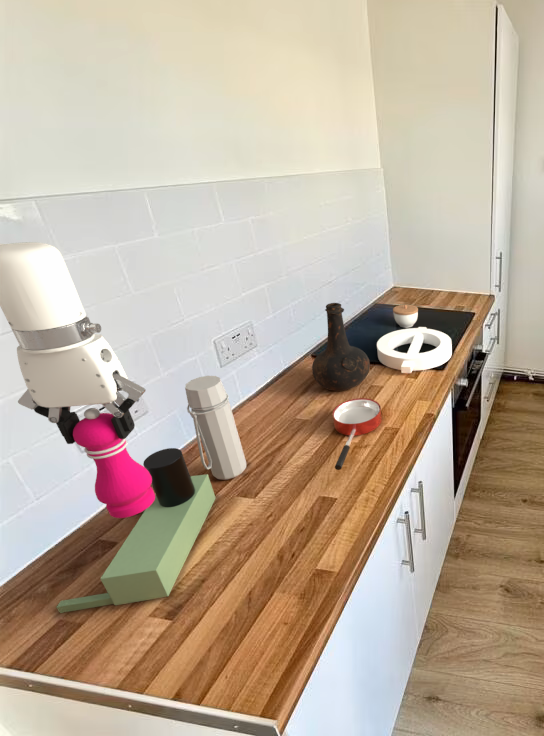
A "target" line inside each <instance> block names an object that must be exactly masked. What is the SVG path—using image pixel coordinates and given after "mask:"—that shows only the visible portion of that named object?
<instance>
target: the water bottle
mask: <svg viewBox="0 0 544 736" xmlns="http://www.w3.org/2000/svg"><path fill="white" fill-rule="evenodd" d="M184 389H185V394H186V400H187V407H186V410H187V413H188V414H189V415H190V417H191V418H192V421H193V426H194V431H195V434H196V435H195V436H196V441H197V446H198V452H199V458H200V462H201V464H202V466H203V468H204V469H205V470H210V471H211V474H212V476H213V477H214V478H216V479H217V480H224V481H225V480H231V479H235V478H237V477H238V476H240V475H242V473H243V472H244V471H245V470H246V469H247V461H246V457H245V453H244V450H243V449H244V448H243V446H242V443H241V439H240V435H239V431H238V428H237V425H236V421H235V417H234V414H233V410H232V406H231V403H230V400H229V397H230V395H229V394H228V393H227V391H226V389H225V386H224V384H223V382H222V379H221V378H220V377H219V376H217V375H205V376H199V377H196V378H194V379H191V380H190V381H188V382H187V383H185V387H184ZM190 409H191V410H190ZM202 446H203V447H202ZM203 450H204V453H205V456H206V459H207V462H208V465H207V464H206V462H205V458H204V453H203Z"/></svg>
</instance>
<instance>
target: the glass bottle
mask: <svg viewBox="0 0 544 736" xmlns="http://www.w3.org/2000/svg"><path fill="white" fill-rule="evenodd" d="M324 311H325V312H326V320H327V341H326V342H327V343H326V347H325V349H324V350H322V351H321V352H319V353H318V354H317V355H316V357H315V358H314V360H313V362H312V365H311V373H312V376H313V378H314V379H315V381H316V383H317V384H319V385H320V387H322V388H324V389H327V390H330V391H335V392H337V391H338V392H340V391H341V392H342V391H348V390H351V389H353V388H355V387H357V386H359V385H360V384H361V383H363V382H364V380H365V379H366V378H367V376H368V374H369V372H370V367H371V364H370V362H371V361H370V359H369V357H368V355H367V354H366V352H364V350H362V349H361V348H359V347H357V346H353V345H351V344H350V343H349V341H348V337H347V333H346V328H345V322H344V318H343V313H344V311H345V308H343V307H342V304H341V303H340V302H330V303H327V304H326V305H325V309H324Z"/></svg>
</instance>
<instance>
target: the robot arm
mask: <svg viewBox="0 0 544 736" xmlns="http://www.w3.org/2000/svg"><path fill="white" fill-rule="evenodd" d="M78 293H79V292H78V290H77V289H76V286H75V284H74V281H73V279H72V276H71V273H70V271H69V269H68V266H67V264H66V261H65V259H64V257H63V254H62V253H61V251H60V250H59V249H58V248H57V247H55V246H54V245H52V244H49V243H45V242H38V241H37V242H36V241H32V242H31V241H29V242H11V243H0V309H1V311H2V312H3V315H4V317H5V318H6V321H7V322H8V325H9V326H10V327H9V328H10V329H11V331H12V333H13V335H14V337H15V339H16V341H17V343H18V346H17V347H16V354H17V355H16V356H17V360H18V365H19V368H20V372H21V375H22V378H23V380H24V383H25V386H26V388H27V389H26V390H25V391H24V393H22V395H21V396H20V398H19V399H18V400H17V403H18V404H19V405H21V406H22V407H25V408H27V409H30V410H33V411H34V412H35V413H36V414H38V415H40V416H43V417H45V418H47V420H48V422H49V423H52V424H55V425H56V427H57V428H58V431H59V432H60V435H61V436H62V437H63V439H64V440H65V443H66V444H67V445H73V444H74V443H76V442H75V440H74V437H73V429H74V427H75V426H76V424H77V423H78V422H79V421H81V420H80V418H79V415H78V414H77V413H76V412H75V411H71V407H82V406H94V405H102V406H103V407H104V408H105V409H106V410H107V411H108V413H110V414H112V415H113V416H114V417H113V418H112V419H111V422H112V424H113V426H114V428H115V431H116V433H117V435H118V438H120V439H125V438H126V439H127V437H128V436H129V435H130V434H131V433H132V432H133V430H134V429H135V427H136V425H135V422H134V419H133V416H132V414H131V412H130V409H131V408H132V407H133V406H134V405H135V403H136V402H137V401H138V400H139V399H140V398H141V397H142V396H143V394H144V393H146V388H145V387H143V386H141V385H140V384H137V383H136V382H133V381H132V380H129V377H128V376H127V374H126V371H125V369H124V367H123V365H122V363H121V361H120V359H119V358H118V356H117V354H116V353H115V351H114V350H113V348H112V346H111V345H110V344H109V342H108V341H107V339H105V337H104V336H103V335H102V333H101V332H102V326H101V324H100V323H93V322H91V320H90V317H89V316H88V315H87V313H86V310H85V308H84V306H83V304H82V303H83V302H82V301H81V299H80V296H79V294H78ZM100 333H101V334H100ZM121 391H123V392H125V393H127V394H128V396H127V397H125V396H124V395H123V394H122V393H121Z"/></svg>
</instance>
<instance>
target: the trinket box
mask: <svg viewBox="0 0 544 736" xmlns="http://www.w3.org/2000/svg"><path fill="white" fill-rule="evenodd" d="M392 312H393V318H394V321H395V323H396V324H397V325H399V327H401V328H404V329H408V328H413V326H414V325H415V324H416V323H417V321H418V317H419V307H417V306H416V305H413V304H399V305H396V306H394V307H392Z"/></svg>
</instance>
